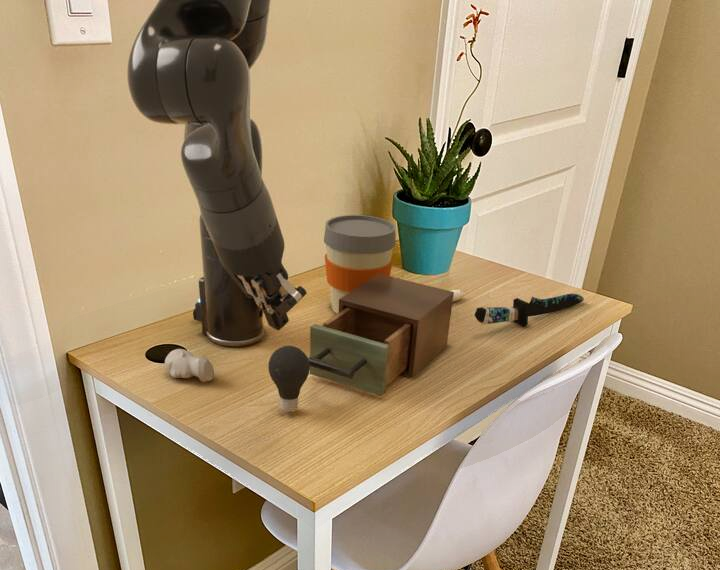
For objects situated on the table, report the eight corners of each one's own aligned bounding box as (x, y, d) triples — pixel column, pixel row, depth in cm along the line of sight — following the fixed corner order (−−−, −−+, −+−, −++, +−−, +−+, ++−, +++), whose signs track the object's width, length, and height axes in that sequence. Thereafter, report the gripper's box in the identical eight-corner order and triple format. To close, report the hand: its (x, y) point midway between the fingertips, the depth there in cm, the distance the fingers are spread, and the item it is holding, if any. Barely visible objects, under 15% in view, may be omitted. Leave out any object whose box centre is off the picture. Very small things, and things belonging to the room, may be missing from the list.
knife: (475, 334, 128) (481, 309, 125) (463, 327, 130) (469, 302, 127) (589, 317, 145) (597, 295, 142) (577, 312, 147) (585, 289, 144)
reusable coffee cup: (392, 298, 142) (399, 217, 133) (387, 325, 132) (394, 240, 123) (327, 292, 143) (329, 211, 134) (317, 318, 133) (318, 233, 124)
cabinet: (412, 378, 116) (418, 320, 111) (336, 355, 121) (338, 299, 116) (446, 346, 126) (454, 291, 121) (375, 326, 131) (379, 273, 126)
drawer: (364, 412, 105) (368, 362, 101) (290, 388, 110) (290, 339, 105) (417, 364, 118) (423, 318, 114) (349, 344, 123) (351, 299, 118)
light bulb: (271, 400, 108) (271, 337, 103) (310, 403, 108) (311, 339, 103) (266, 420, 104) (265, 355, 98) (306, 423, 104) (308, 358, 98)
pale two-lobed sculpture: (161, 380, 114) (184, 360, 116) (199, 396, 110) (221, 375, 113) (151, 358, 111) (175, 338, 113) (189, 374, 107) (213, 353, 109)
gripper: (309, 224, 79) (336, 327, 94) (223, 177, 84) (262, 282, 99) (261, 270, 77) (296, 368, 92) (176, 219, 82) (223, 320, 97)
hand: (278, 323), depth 96 cm, fingers closed
